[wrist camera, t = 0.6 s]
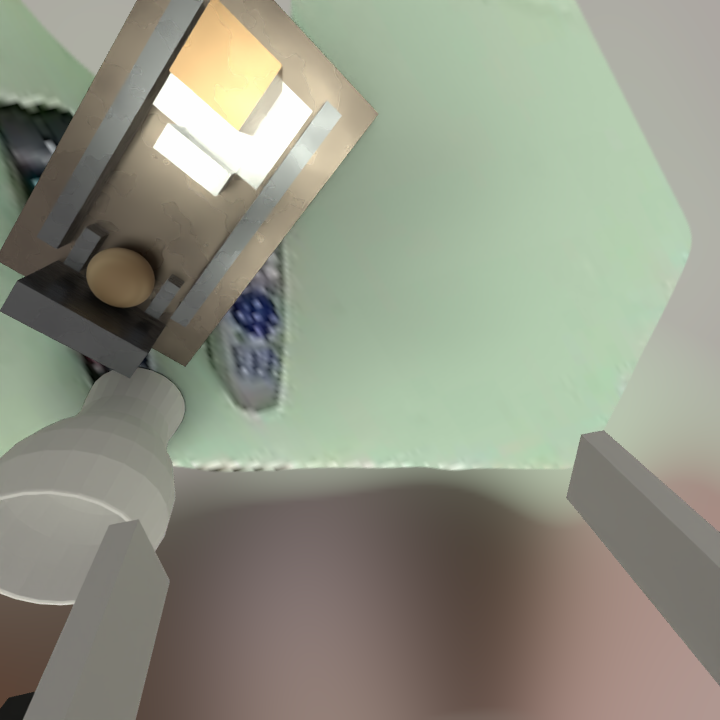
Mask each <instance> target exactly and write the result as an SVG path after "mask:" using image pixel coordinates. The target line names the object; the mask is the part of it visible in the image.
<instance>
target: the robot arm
mask: <svg viewBox="0 0 720 720" xmlns="http://www.w3.org/2000/svg"><path fill="white" fill-rule="evenodd" d="M567 499H568V500H569V501H570V503H571V504H572V505H573V506H574V508H575V509H576V510H577V511H578V513H579V514H580V515H581V516H582V517H583V519H584V520H585V521H586V522H587V524H588V525H589V526H590V527H591V529H592V530H593V531H594V532H595V533H596V535H597V536H598V537H599V538H600V540H601V541H602V542H603V543H604V544H605V546H606V547H607V548H608V549H609V551H610V552H611V553H612V554H613V556H614V557H615V558H616V559H617V560H618V562H619V563H620V564H621V565H622V567H623V568H624V569H625V570H626V572H627V573H628V574H629V575H630V576H631V578H632V579H633V580H634V581H635V583H636V584H637V585H638V586H639V587H640V589H641V590H642V591H643V592H644V594H645V595H646V596H647V597H648V598H649V600H650V601H651V602H652V603H653V605H654V606H655V607H656V608H657V610H658V611H659V612H660V613H661V614H662V616H663V617H664V618H665V619H666V621H667V622H668V623H669V624H670V625H671V627H672V628H673V629H674V630H675V632H676V633H677V634H678V635H679V637H680V638H681V639H682V640H683V641H684V643H685V644H686V645H687V646H688V648H689V649H690V650H691V651H692V653H693V654H694V655H695V656H696V657H697V659H698V660H699V661H700V662H701V664H702V665H703V666H704V667H705V668H706V670H707V671H708V672H709V673H710V675H711V676H712V677H713V678H714V680H715V681H716V682H717V683H718V684H719V686H720V532H719V531H717V530H716V529H715V528H714V527H713V526H712V525H711V524H709V523H708V522H707V521H706V520H705V519H703V517H701V516H700V515H699V514H698V513H697V512H696V511H694V509H692V508H691V507H690V506H689V505H688V504H687V503H686V502H684V501H683V500H682V499H681V498H680V497H679V496H678V495H676V494H675V493H674V492H673V491H672V490H671V489H670V488H668V487H667V486H666V485H665V484H664V483H663V482H662V481H661V480H659V479H658V478H657V477H656V476H655V475H654V474H653V473H651V472H650V471H649V470H648V469H647V468H646V467H645V466H644V465H642V464H641V463H640V462H639V461H638V460H637V459H636V458H634V457H633V456H632V455H631V454H630V453H629V452H628V451H627V450H625V449H624V448H623V447H622V446H621V445H620V444H619V443H617V442H616V441H615V440H614V439H613V438H612V437H611V436H610V435H608V434H607V433H606V432H605V431H604V430H603V431H598V432H592V433H587V434H582V435H581V438H580V442H579V446H578V450H577V454H576V459H575V463H574V467H573V471H572V476H571V480H570V484H569V489H568V493H567ZM169 581H170V580H169V578H168V577H167V575H166V572H165V570H164V569H163V566H162V564H161V562H160V561H159V559H158V557H157V555H156V553H155V551H154V549H153V547H152V545H151V543H150V541H149V539H148V537H147V535H146V533H145V531H144V529H143V527H142V525H141V523H140V521H139V519H137V520H132V521H127V522H122V523H116V524H111V525H109V526H108V528H107V531H106V533H105V535H104V537H103V540H102V542H101V544H100V547H99V549H98V551H97V553H96V556H95V558H94V560H93V562H92V565H91V567H90V569H89V571H88V574H87V576H86V578H85V580H84V583H83V585H82V587H81V589H80V592H79V594H78V596H77V599H76V601H75V603H74V605H73V608H72V610H71V613H70V614H69V617H68V619H67V621H66V624H65V626H64V628H63V630H62V632H61V635H60V637H59V639H58V641H57V644H56V646H55V649H54V651H53V653H52V655H51V657H50V660H49V662H48V664H47V667H46V669H45V671H44V673H43V675H42V678H41V680H40V682H39V684H38V687H37V689H36V691H35V692H32V693H27V694H23V695H19V696H14V697H10V698H8V699H7V701H6V702H5V703H4V705H3V706H2V707H1V708H0V720H135V719H136V715H137V711H138V707H139V703H140V699H141V695H142V691H143V687H144V683H145V679H146V675H147V671H148V667H149V663H150V659H151V655H152V651H153V647H154V643H155V638H156V634H157V630H158V626H159V622H160V618H161V614H162V610H163V606H164V602H165V598H166V594H167V590H168V586H169Z"/></svg>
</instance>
